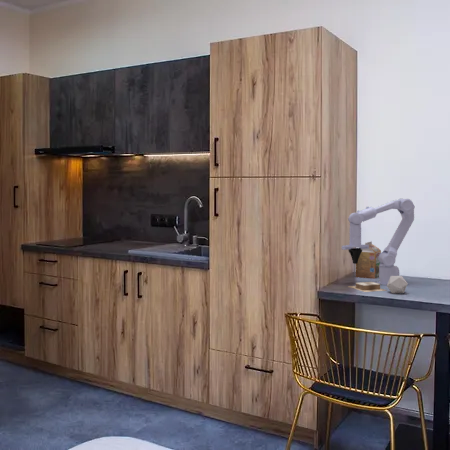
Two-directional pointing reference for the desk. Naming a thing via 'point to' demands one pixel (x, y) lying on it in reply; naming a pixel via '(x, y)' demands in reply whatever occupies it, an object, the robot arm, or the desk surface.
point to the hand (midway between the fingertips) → (355, 263)
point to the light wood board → (367, 290)
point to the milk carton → (368, 262)
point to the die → (397, 284)
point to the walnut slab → (367, 286)
